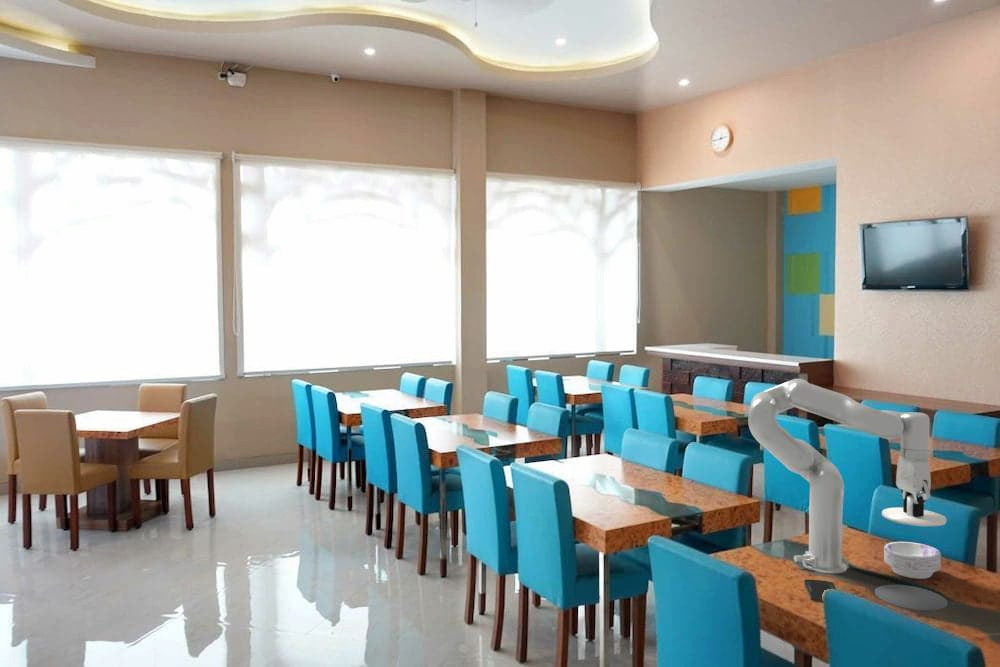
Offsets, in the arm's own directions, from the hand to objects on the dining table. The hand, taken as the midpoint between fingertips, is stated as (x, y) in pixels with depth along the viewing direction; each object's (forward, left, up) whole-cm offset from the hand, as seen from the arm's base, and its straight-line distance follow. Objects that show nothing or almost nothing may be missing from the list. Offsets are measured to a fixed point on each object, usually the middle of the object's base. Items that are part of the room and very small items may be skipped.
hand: (913, 513), depth 228 cm
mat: (-12, -15, -19) cm, 27 cm away
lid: (0, 0, -1) cm, 1 cm away
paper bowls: (+1, +2, -20) cm, 20 cm away
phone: (-34, -7, -20) cm, 40 cm away
